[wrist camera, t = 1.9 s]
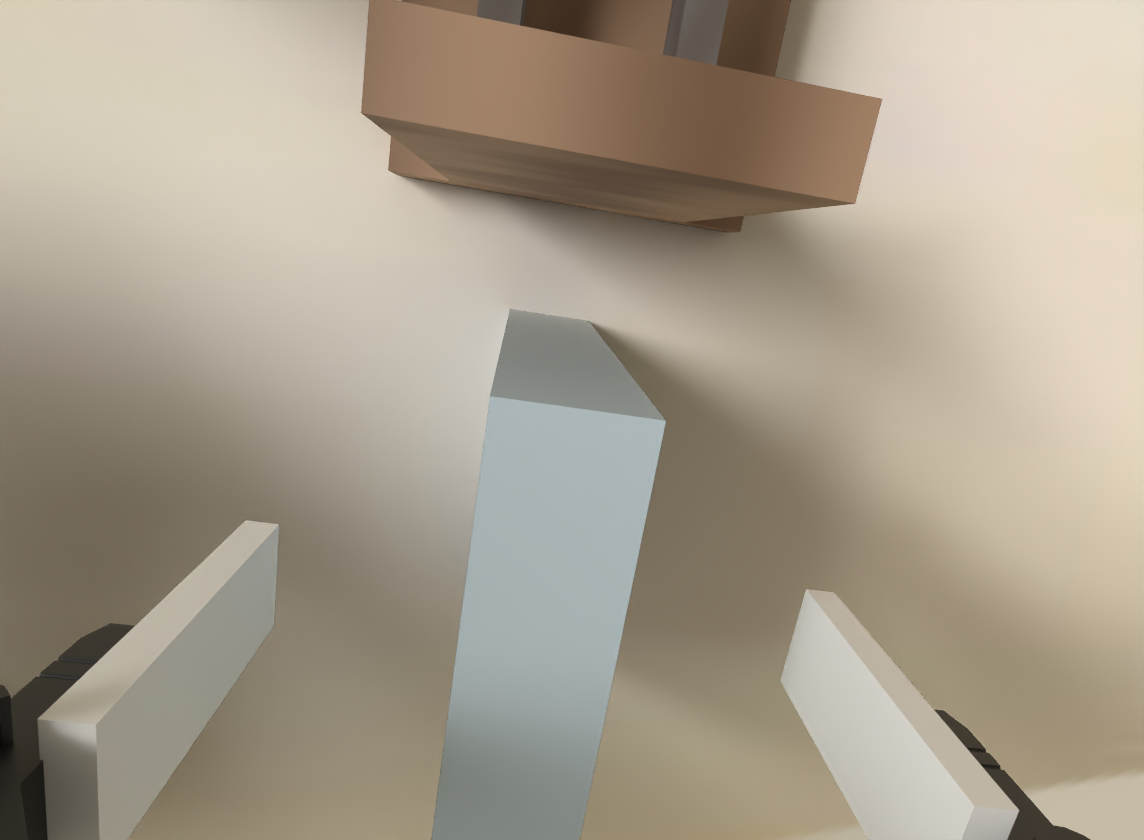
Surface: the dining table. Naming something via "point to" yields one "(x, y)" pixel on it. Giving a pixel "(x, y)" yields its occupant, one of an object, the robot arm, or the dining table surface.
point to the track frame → (612, 106)
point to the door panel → (545, 582)
